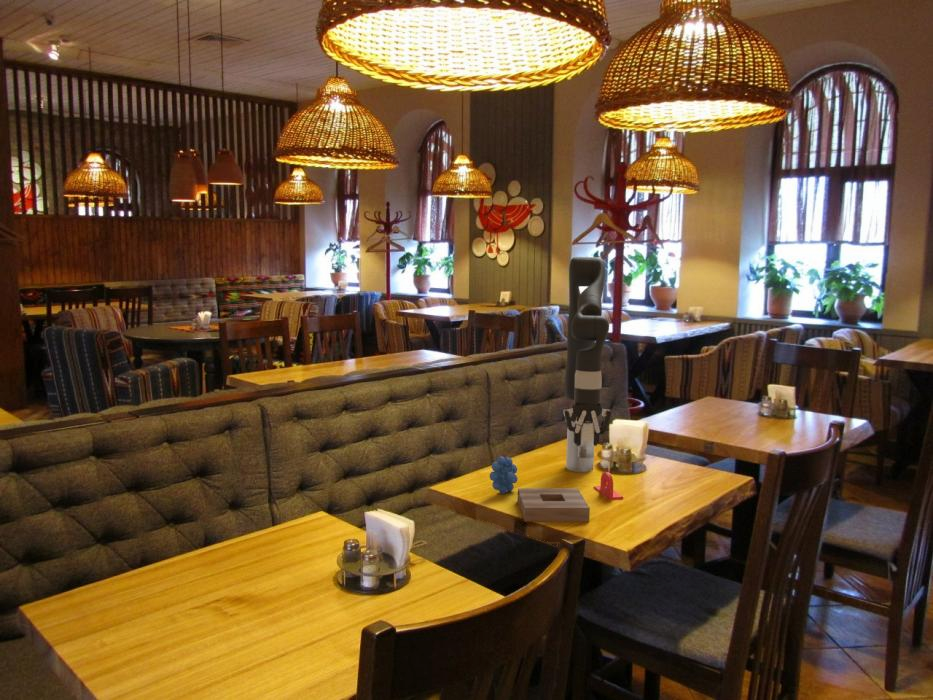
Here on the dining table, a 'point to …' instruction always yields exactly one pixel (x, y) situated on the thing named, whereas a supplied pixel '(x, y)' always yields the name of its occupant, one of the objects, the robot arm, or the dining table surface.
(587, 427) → the peg
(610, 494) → the bracket
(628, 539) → the dining table surface
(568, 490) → the socket block
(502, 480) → the grapes
